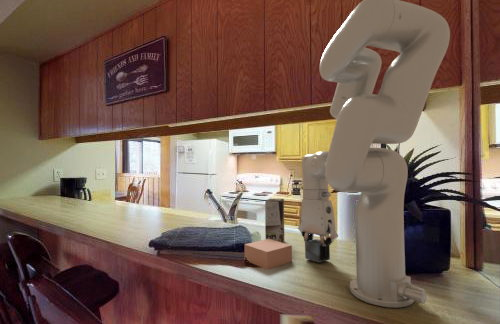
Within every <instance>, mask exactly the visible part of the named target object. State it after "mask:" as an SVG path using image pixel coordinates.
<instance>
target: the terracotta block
mask: <svg viewBox="0 0 500 324" xmlns="http://www.w3.org/2000/svg"><path fill="white" fill-rule="evenodd" d="M245 257H246V258H247V260H248V261H249V262H248V261H247V262H248V263H250V264H253V265H255V266H258V267H261V268H263V269H265V270H269V269H274V268H276V267H280V266H283V265H285V264H288V263H291V262H292V260H293V245H292V244H288V243H286V242H284V243H282V242H278V241H274V240H271V239H262V240H257V241H254V242H250V243H245V244H244V258H245Z"/></svg>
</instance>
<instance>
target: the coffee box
mask: <svg viewBox="0 0 500 324" xmlns="http://www.w3.org/2000/svg"><path fill="white" fill-rule="evenodd" d="M264 207H265V208H264V211H265V217H264V219H265V222H264V223H265V236H264V237H265V239H264V240H266V239H271V240H274V241H278V242H282V243H285V200H284V198H268V199H266V200H265V205H264Z"/></svg>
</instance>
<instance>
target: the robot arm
mask: <svg viewBox="0 0 500 324" xmlns="http://www.w3.org/2000/svg"><path fill="white" fill-rule="evenodd" d="M450 38H451V30H450V26H449V24H448V21H447V20H446V19H445V18H444V17H443V16H442V15H441V14H439V13H438V12H436V11H434V10H433V9H430V8H427V7H425V6H421V5H418V4H416V3H412V2H407V1H403V0H362V1H361V2H359V3H358V4H357V5H356V6H355V8H354V9H353V10H352V11H351V13H350V14H349V16H347V18H346V20H345V21H344V22H343V23H342V25H341V26H340V28H338V30H337V31H336V33H335V34H334V35H333V37H332V38H331V39H330V41H329V42H328V44H327V46H326V48H325V49H324V52H323V53H322V56H321V59H320V62H319V66H318V67H319V68H318V69H319V74H320V77H321V78H322V79H323V80H324V81H326V82H331V83H337V84H336V88H335V91H334V96H333V98H332V101H331V104H330V108H329V113H330V115H331V117H332V118H334V119H335V120H336V121H335V126H334V130H333V134H332V137H331V142H330V145H329V148H328V149H329V150H328V151H327V150H324V151H317V152H315V153H313V154H312V153H311V154H310V153H309V154H306V155H303V157H302V159H301V174H302V176H301V177H302V200H301V207H300V223H299V225H298V228H297V229H298V231H299V232H300V233H301V235H302V237H303V241H304V242H305V241H309V240H314V236H315V235H316V236H319V240H321V244H322V246H320V259H321V260H326V261H328V260H327V259H329V247H330V246H331V245H332V244H333V242H334V240H336V239H338V238H339V234H338V233H337V231H336V221H335V213H334V207H333V203H332V200H330V199H329V198H330V197H331V195H332V194H331V192H329V186H330V188H332V189H333V190H334V191H336V192H339V193H345V194H346V193H348V194H349V193H352V194H353V193H360V194H359V197H358V199H357V202H356V206H355V214H354V216H355V218H354V219H355V221H354V223H355V224H354V225H355V228H354V229H355V259H356V261H355V266H356V267H355V268H356V272H355V273H356V278H354V279H352V280H351V281H350V282H349V291H350V293H351V294H352V295H353V296H354V297H356V298H357V299H359V300H361V301H363V302H365V303H367V304H371V305H375V306H378V307H384V308H395V309H396V308H397V309H398V308H406V307H409V306H411V305H412V304H414V303H415V302H418V303H420V304H422V305H424V304H425V303H426V302H427V294H426V290H425V289H424V288H421V287H420V286H419V287H418V286H414V285H413V284H412V282H411V278H412V277H411V276H410V275H409V276H408V275H406V256H405V252H406V250H405V224H404V223H405V220H404V219H405V218H404V209H405V207H404V206H405V193H406V188H407V187H406V186H407V182H408V174H409V173H408V171H409V168H408V165H407V162H406V160H405V158H404V157H403V156H402V154H400V153H399V152H397V151H396V150H394V149H390V148H386V147H371V146H372V145H373V144H375V145H379V144H380V145H381V144H382V145H385V144H386V145H397V144H399V145H400V144H403V143H406V142H407V141H409V140H410V139H411V138H412V137H413V136H414V134H415V131H416V128H417V126H418V123H419V121H420V118H421V116H422V113H423V110H424V108H425V105H426V102H427V99H428V96H429V93H430V91H431V88H432V85H433V82H434V80H435V77H436V74H437V72H438V70H439V68H440V66H441V64H442V62H443V59H444V57H445V55H446V53H447V50H448V47H449V44H450V40H451V39H450ZM368 47H373V48H378V49H381V50H382V49H383V50H389V51H393V52H394V51H395V52H397V53H399V55H397V56H396V57H395V58H394V60H392V62H391V64H390V65H389V66H388V68H387V69H386V71H385V73H384V75H383V79H382V83H381V86H380V88H379V91H378V93H377V94H373V93H374V89H375V86H376V83H377V80H378V77H379V75H380V72H381V69H382V63H383V61H382V58H381V56H380V54H379V53H378V52H377V51H375V50H373V49H371V48H368ZM329 260H330V259H329Z"/></svg>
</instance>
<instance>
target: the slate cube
mask: <svg viewBox="0 0 500 324" xmlns="http://www.w3.org/2000/svg"><path fill="white" fill-rule="evenodd" d="M320 246H322V244H321V240H320V238H319V239H318V238H316V239H315V238H313V240H309V241H304V253H305V258H304V259H306V260H309V261H312V262H315V263H322V262H324V261H329V260H331V254H330V252H331V251H330V250H331V249H330V246H329V259H327V260H321V259H320Z"/></svg>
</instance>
